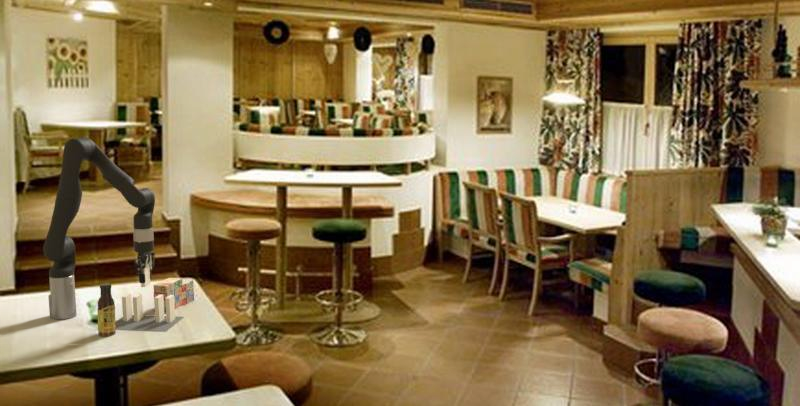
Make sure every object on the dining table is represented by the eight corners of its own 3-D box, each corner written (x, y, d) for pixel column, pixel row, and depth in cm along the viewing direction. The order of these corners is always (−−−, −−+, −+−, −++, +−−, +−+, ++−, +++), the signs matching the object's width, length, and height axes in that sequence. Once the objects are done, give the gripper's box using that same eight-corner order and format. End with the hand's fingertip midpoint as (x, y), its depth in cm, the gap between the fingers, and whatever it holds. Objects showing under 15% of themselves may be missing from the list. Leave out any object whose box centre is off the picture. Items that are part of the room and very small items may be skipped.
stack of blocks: (181, 299, 337) (180, 272, 335) (194, 300, 336) (193, 273, 334) (154, 313, 317) (153, 284, 315) (167, 314, 315) (166, 285, 313)
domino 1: (123, 320, 304) (121, 296, 303) (128, 317, 309) (127, 293, 308) (126, 321, 304) (125, 296, 303) (132, 317, 309) (131, 293, 308)
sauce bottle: (105, 338, 284) (102, 287, 281) (94, 335, 288) (91, 285, 284) (120, 334, 290) (117, 283, 287) (109, 331, 293) (106, 281, 290)
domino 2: (133, 321, 304) (132, 297, 302) (139, 317, 309) (138, 293, 307) (137, 321, 304) (136, 297, 302) (143, 317, 309) (141, 293, 307)
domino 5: (166, 322, 303) (165, 298, 301) (171, 318, 308) (170, 294, 306) (170, 322, 303) (169, 298, 301) (175, 318, 307) (174, 294, 306)
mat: (103, 330, 294) (103, 329, 294) (125, 315, 313) (125, 314, 312) (165, 332, 292) (165, 331, 291) (184, 317, 310) (184, 316, 310)
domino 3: (141, 287, 300) (139, 262, 298) (146, 283, 304) (145, 259, 303) (144, 287, 299) (143, 262, 298) (150, 283, 304) (149, 259, 303)
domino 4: (155, 322, 303) (154, 297, 302) (160, 318, 308) (159, 294, 306) (159, 322, 303) (158, 298, 301) (164, 318, 308) (163, 294, 306)
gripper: (142, 235, 306) (144, 276, 309) (126, 242, 292) (128, 285, 295) (160, 235, 306) (162, 276, 308) (144, 243, 291) (146, 286, 294)
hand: (145, 280), depth 302 cm, fingers closed on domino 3, 5 cm apart
